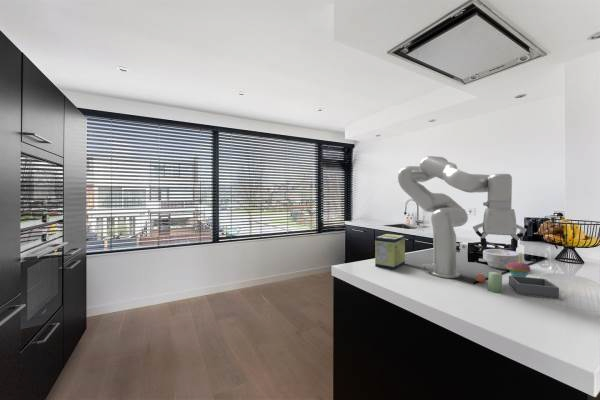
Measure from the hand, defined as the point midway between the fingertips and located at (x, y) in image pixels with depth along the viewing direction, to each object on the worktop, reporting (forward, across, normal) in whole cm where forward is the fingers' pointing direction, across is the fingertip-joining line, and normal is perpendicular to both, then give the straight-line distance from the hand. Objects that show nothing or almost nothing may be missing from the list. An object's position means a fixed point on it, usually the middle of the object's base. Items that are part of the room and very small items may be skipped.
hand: (498, 248), depth 105 cm
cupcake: (+17, +13, +21) cm, 30 cm away
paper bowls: (+17, +11, +38) cm, 43 cm away
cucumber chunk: (+17, -1, -1) cm, 17 cm away
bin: (+17, +12, +3) cm, 21 cm away
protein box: (+17, -42, +24) cm, 51 cm away
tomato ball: (+17, -4, +8) cm, 19 cm away
